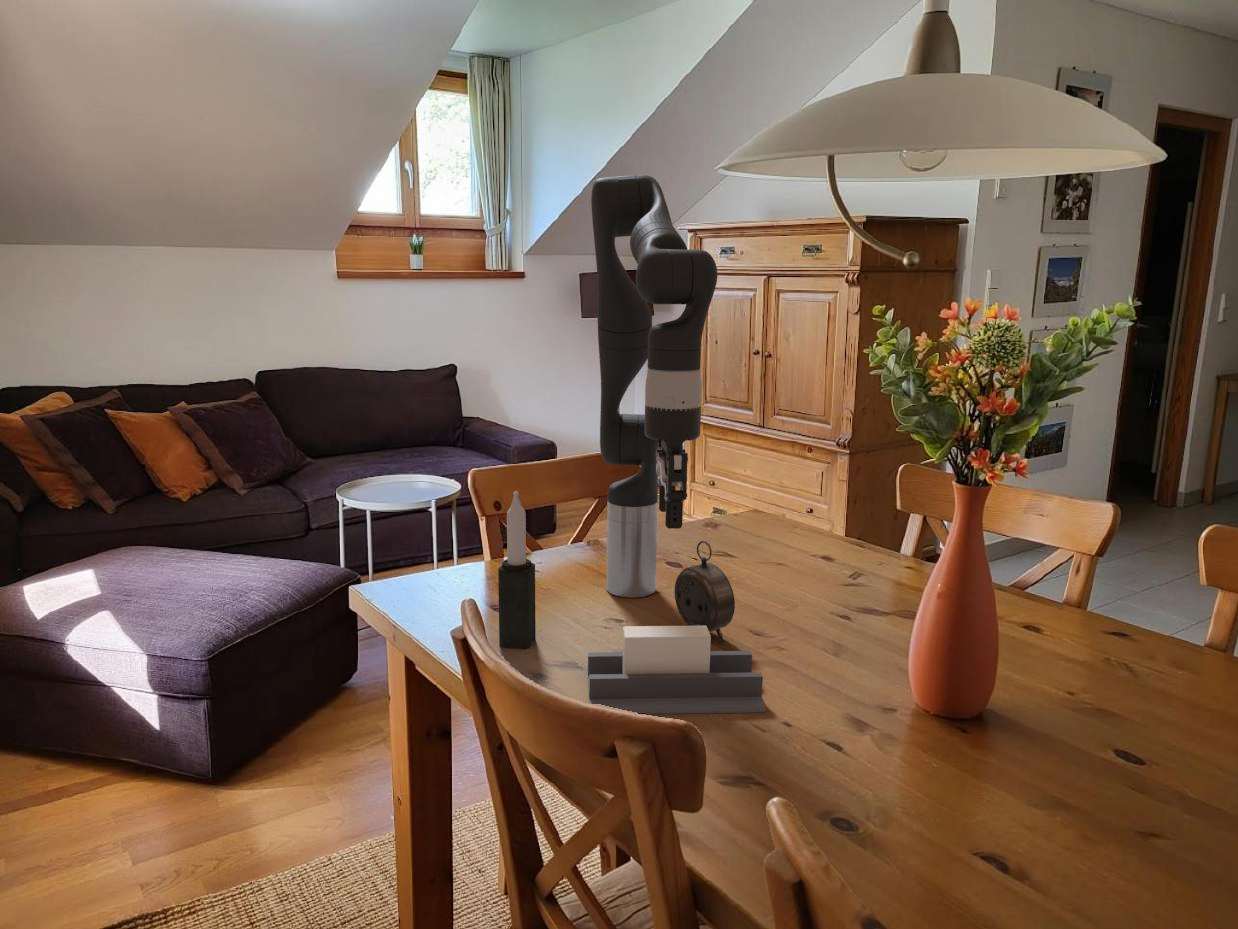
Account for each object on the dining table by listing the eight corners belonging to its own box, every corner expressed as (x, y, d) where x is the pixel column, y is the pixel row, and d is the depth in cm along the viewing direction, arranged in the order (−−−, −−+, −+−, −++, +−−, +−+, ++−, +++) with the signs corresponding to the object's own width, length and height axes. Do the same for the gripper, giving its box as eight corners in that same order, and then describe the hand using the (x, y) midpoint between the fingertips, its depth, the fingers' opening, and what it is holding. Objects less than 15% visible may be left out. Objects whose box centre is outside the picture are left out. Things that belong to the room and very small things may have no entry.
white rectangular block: (622, 678, 133) (623, 626, 132) (704, 677, 134) (706, 625, 132) (624, 690, 129) (625, 637, 128) (708, 689, 130) (710, 636, 129)
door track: (587, 670, 138) (587, 645, 137) (745, 668, 140) (747, 643, 139) (589, 714, 124) (590, 687, 124) (765, 712, 126) (766, 685, 125)
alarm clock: (735, 643, 149) (739, 546, 146) (709, 650, 146) (713, 552, 143) (692, 621, 158) (695, 530, 154) (667, 628, 155) (669, 535, 151)
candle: (528, 649, 145) (526, 496, 140) (497, 646, 146) (494, 494, 141) (537, 637, 150) (536, 488, 145) (507, 634, 151) (505, 486, 146)
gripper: (709, 410, 116) (704, 534, 120) (693, 395, 130) (690, 506, 134) (650, 410, 116) (647, 534, 119) (640, 394, 130) (638, 506, 133)
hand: (670, 519), depth 127 cm, fingers open, 8 cm apart
